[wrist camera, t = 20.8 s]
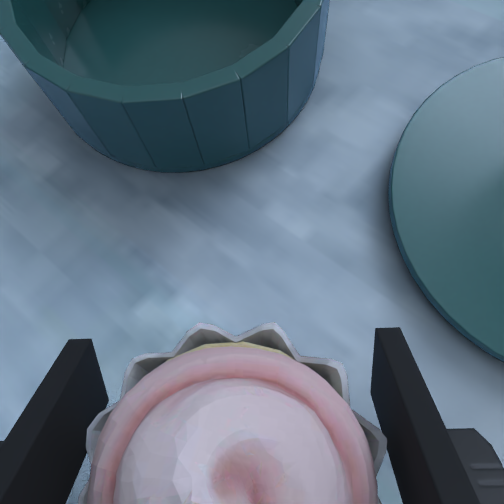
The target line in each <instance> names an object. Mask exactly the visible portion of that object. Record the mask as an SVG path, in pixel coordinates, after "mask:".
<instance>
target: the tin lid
mask: <svg viewBox="0 0 504 504" xmlns="http://www.w3.org/2000/svg"><path fill="white" fill-rule="evenodd" d="M388 196H389V211H390V217H391V222H392V227H393V231H394V235H395V238H396V241H397V244H398V247H399V249H400V252H401V255H402V257H403V259H404V261H405V263H406V265H407V267H408V269H409V271H410V273H411V275H412V277H413V278H414V280H415V281H416V283H417V284H418V286H419V287H420V289H421V290H422V292H423V293H424V294H425V296H426V297H427V299H428V300H429V301H430V302H431V303H432V304H433V306H434V307H435V308H436V309H437V310H438V311H439V312H440V314H441V315H442V316H443V317H444V318H445V319H446V320H447V321H448V322H449V323H450V324H451V325H453V326H454V327H455V328H456V329H457V330H458V331H459V332H460V333H461V334H463V335H464V336H465V337H466V338H468V339H469V340H470V341H472V342H473V343H474V344H476V345H477V346H479V347H480V348H481V349H483V350H484V351H486V352H487V353H489V354H490V355H492V356H494V357H496V358H498V359H499V360H501V361H503V362H504V57H502V58H497V59H493V60H491V61H488V62H485V63H482V64H479V65H477V66H474V67H472V68H470V69H468V70H466V71H464V72H462V73H460V74H458V75H456V76H455V77H454V78H452V79H451V80H449V81H448V82H446V83H445V84H443V85H442V86H440V87H439V88H438V89H437V90H436V91H435V92H434V93H433V94H431V95H430V96H429V97H428V98H427V99H426V100H425V101H424V102H423V104H422V105H421V106H420V107H419V109H418V110H417V111H416V112H415V113H414V115H413V116H412V118H411V120H410V121H409V123H408V125H407V126H406V128H405V130H404V132H403V134H402V136H401V139H400V141H399V144H398V146H397V148H396V151H395V153H394V157H393V162H392V166H391V170H390V177H389V190H388Z"/></svg>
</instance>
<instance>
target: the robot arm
mask: <svg viewBox="0 0 504 504" xmlns="http://www.w3.org/2000/svg"><path fill="white" fill-rule="evenodd" d="M370 393H371V396H372V400H373V403H374V407H375V410H376V413H377V417H378V420H379V424H380V427H381V430H382V433H383V434H384V436H385V437H386V438H387V451H388V454H389V457H390V461H391V464H392V468H393V471H394V474H395V478H396V481H397V485H398V488H399V491H400V495H401V498H402V502H403V504H504V469H503V467H502V463H501V461H500V460H499V458H498V456H497V454H496V452H495V451H494V449H493V447H492V445H491V444H490V443H489V442H488V441H487V440H486V439H485V438H484V437H483V436H481V435H480V434H479V433H478V432H477V431H476V430H475V429H474V428H468V429H446V427H445V425H444V423H443V421H442V419H441V416H440V414H439V412H438V410H437V408H436V405H435V403H434V401H433V399H432V397H431V395H430V392H429V390H428V388H427V386H426V384H425V381H424V379H423V377H422V375H421V373H420V371H419V368H418V366H417V364H416V362H415V360H414V358H413V355H412V353H411V351H410V349H409V347H408V344H407V342H406V340H405V338H404V336H403V334H402V331H401V329H400V327H398V328H375V340H374V353H373V366H372V379H371V392H370ZM108 401H109V399H108V396H107V392H106V388H105V385H104V381H103V378H102V374H101V371H100V367H99V364H98V360H97V357H96V353H95V350H94V346H93V342H92V339H69V340H68V342H67V343H66V345H65V346H64V348H63V349H62V351H61V353H60V354H59V356H58V357H57V359H56V360H55V362H54V364H53V365H52V367H51V368H50V370H49V371H48V373H47V375H46V376H45V378H44V379H43V381H42V383H41V384H40V386H39V387H38V389H37V390H36V392H35V394H34V395H33V397H32V398H31V400H30V401H29V403H28V405H27V406H26V408H25V409H24V411H23V412H22V414H21V416H20V417H19V419H18V420H17V422H16V423H15V425H14V427H13V428H12V430H11V431H10V433H9V434H8V436H7V438H6V439H5V441H0V504H66V501H67V499H68V496H69V494H70V492H71V489H72V487H73V485H74V482H75V480H76V477H77V475H78V473H79V470H80V468H81V466H82V463H83V461H84V458H85V456H86V454H87V450H86V436H87V428H88V427H89V426H90V424H91V423H92V422H93V420H94V419H95V418H96V416H97V415H98V414H99V413H100V412H102V411H103V410H105V409H106V406H107V404H108Z"/></svg>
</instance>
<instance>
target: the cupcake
mask: <svg viewBox="0 0 504 504" xmlns="http://www.w3.org/2000/svg"><path fill="white" fill-rule="evenodd" d="M386 448H387V438H386V437H385V436H384V434H383V433H382V432H381V431H380V430H379V428H377V427H376V426H374V425H373V424H372V423H370V422H369V421H367V420H366V419H365V418H363V417H362V416H360V415H359V414H358V413H356V412H355V411H353V410H352V409H351V408H350V399H349V389H348V378H347V373H346V371H345V368H344V365H343V363H341V362H338V361H336V360H333V359H328V358H317V357H306V356H300V355H299V353H298V352H297V350H296V349H295V347H294V346H293V344H292V342H291V341H290V339H289V338H288V336H287V335H286V333H285V332H284V330H283V329H282V328H281V327H280V326H278V325H277V324H276V323H275V322H272V323H266V324H262V325H260V326H258V327H256V328H253V329H251V330H249V331H247V332H245V333H243V334H241V335H238V336H234V335H232V334H230V333H228V332H226V331H225V330H223V329H221V328H219V327H217V326H215V325H212V324H206V323H198V324H197V325H195V326H194V327H193V328H191V329H190V330H188V331H187V332H186V334H185V335H184V336H183V338H182V339H181V340H180V342H179V343H178V344H177V346H176V347H175V348H174V350H173V351H172V352H168V353H145V354H142V355H140V356H137V357H135V358H132V359H131V361H130V363H129V365H128V367H127V369H126V371H125V374H124V380H123V385H122V391H121V396H120V400H119V401H118V402H116V403H115V404H113V405H111V406H110V407H108V408H107V409H105V410H103V411H102V412H100V413H99V414H98V415H97V416H96V418H95V419H94V420H93V422H92V423H91V424H90V426H89V427H88V428H87V436H86V450H87V453H88V457H89V460H90V463H91V472H90V478H89V480H88V482H87V484H86V485H85V487H84V489H83V490H82V492H81V494H80V496H79V499H78V504H382V503H381V501H380V499H379V497H378V495H377V480H376V476H377V473H378V471H379V469H380V466H381V464H382V461H383V459H384V456H385V454H386Z"/></svg>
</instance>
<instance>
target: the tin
mask: <svg viewBox="0 0 504 504" xmlns="http://www.w3.org/2000/svg"><path fill="white" fill-rule="evenodd" d="M329 2H330V0H0V35H1V36H2V38H3V39H4V40H5V42H6V43H7V44H8V46H9V47H10V48H11V50H12V51H13V52H14V54H15V55H16V57H17V58H18V59H19V61H20V62H21V63H22V65H23V66H24V67H25V69H26V70H27V71H28V72H29V74H30V75H31V76H32V78H33V79H34V80H35V81H36V83H37V84H38V85H39V87H40V88H41V89H42V90H43V92H44V93H45V94H46V96H47V97H48V98H49V99H50V101H51V102H52V103H53V105H54V106H55V107H56V108H57V110H58V111H59V112H60V114H61V115H62V116H63V117H64V119H65V120H66V121H67V123H68V124H69V125H70V126H71V128H72V129H73V130H74V132H75V133H76V134H77V135H78V136H79V137H80V138H82V139H83V140H84V141H85V142H86V143H87V144H89V145H90V146H91V147H93V148H94V149H95V150H96V151H98V152H100V153H102V154H103V155H105V156H107V157H109V158H110V159H113V160H115V161H118V162H120V163H123V164H125V165H128V166H132V167H136V168H140V169H144V170H150V171H158V172H189V171H198V170H204V169H209V168H213V167H217V166H221V165H224V164H227V163H230V162H232V161H235V160H238V159H240V158H242V157H244V156H246V155H248V154H250V153H252V152H254V151H256V150H258V149H259V148H261V147H262V146H264V145H265V144H267V143H268V142H270V141H272V140H273V139H274V138H275V137H276V136H277V135H279V134H280V133H281V132H282V131H283V130H284V129H286V128H287V126H288V125H289V124H290V123H291V122H292V121H293V120H294V119H295V118H296V116H297V115H298V114H299V112H300V111H301V110H302V108H303V107H304V105H305V104H306V102H307V100H308V98H309V96H310V94H311V92H312V90H313V88H314V86H315V83H316V79H317V76H318V73H319V67H320V63H321V59H322V56H323V50H324V42H325V34H326V26H327V18H328V10H329Z"/></svg>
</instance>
